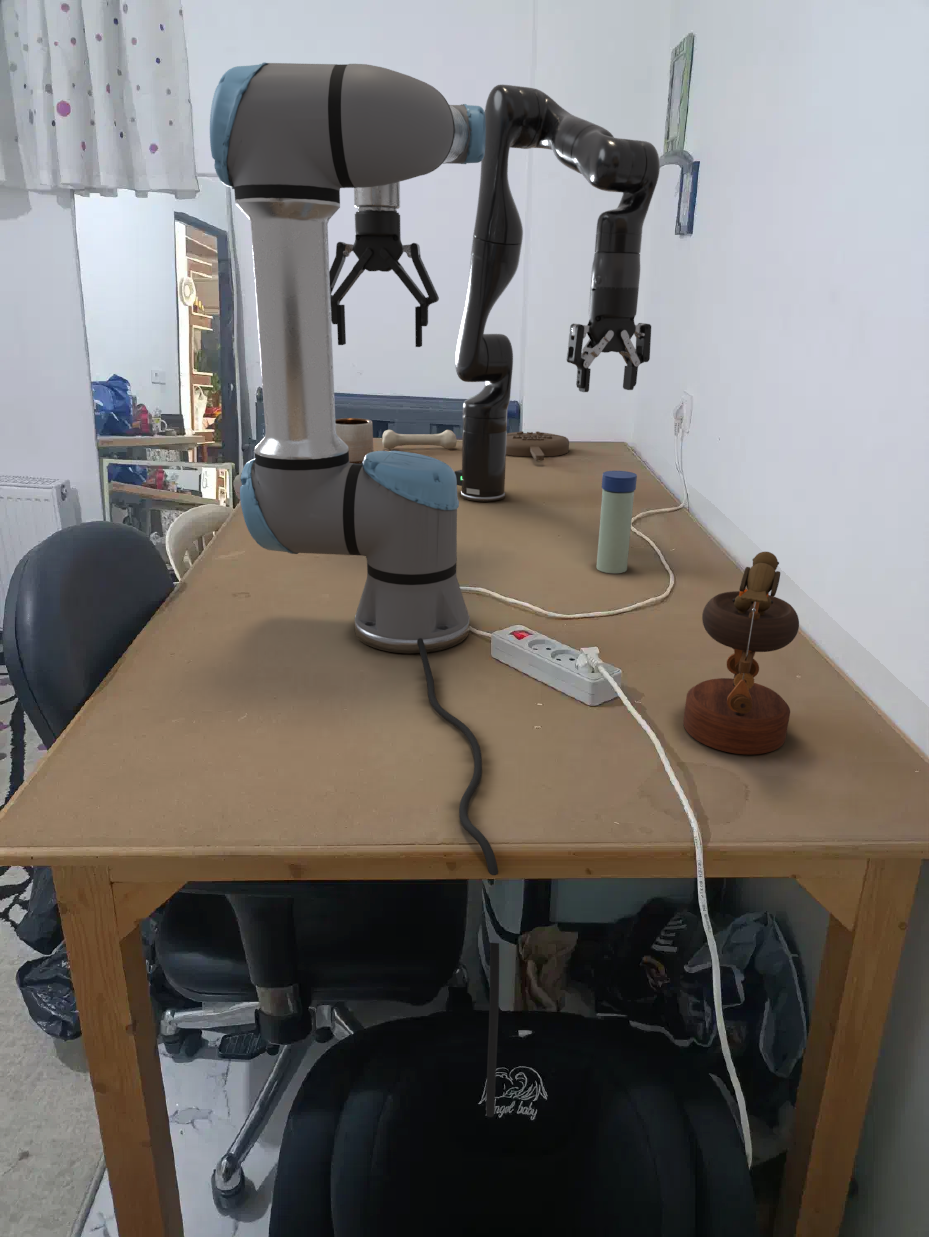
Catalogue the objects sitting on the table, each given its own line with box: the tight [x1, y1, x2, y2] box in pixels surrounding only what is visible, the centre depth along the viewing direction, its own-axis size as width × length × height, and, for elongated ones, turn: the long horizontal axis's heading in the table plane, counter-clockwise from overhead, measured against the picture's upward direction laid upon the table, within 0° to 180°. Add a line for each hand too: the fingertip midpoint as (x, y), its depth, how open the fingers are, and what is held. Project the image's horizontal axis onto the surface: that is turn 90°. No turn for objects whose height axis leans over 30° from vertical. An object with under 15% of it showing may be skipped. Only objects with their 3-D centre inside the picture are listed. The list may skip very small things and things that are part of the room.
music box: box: [682, 551, 800, 755], centre depth 87 cm, size 15×11×20 cm
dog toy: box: [381, 429, 458, 450], centre depth 228 cm, size 20×6×5 cm, turn 99°
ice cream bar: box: [506, 430, 570, 461], centre depth 223 cm, size 21×28×4 cm
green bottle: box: [595, 489, 635, 574], centre depth 136 cm, size 5×5×15 cm
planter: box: [335, 417, 375, 464], centre depth 212 cm, size 11×11×10 cm
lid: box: [601, 470, 638, 492], centre depth 133 cm, size 5×5×2 cm
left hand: (380, 345), depth 147 cm, fingers open, 13 cm apart
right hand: (605, 390), depth 139 cm, fingers open, 8 cm apart
